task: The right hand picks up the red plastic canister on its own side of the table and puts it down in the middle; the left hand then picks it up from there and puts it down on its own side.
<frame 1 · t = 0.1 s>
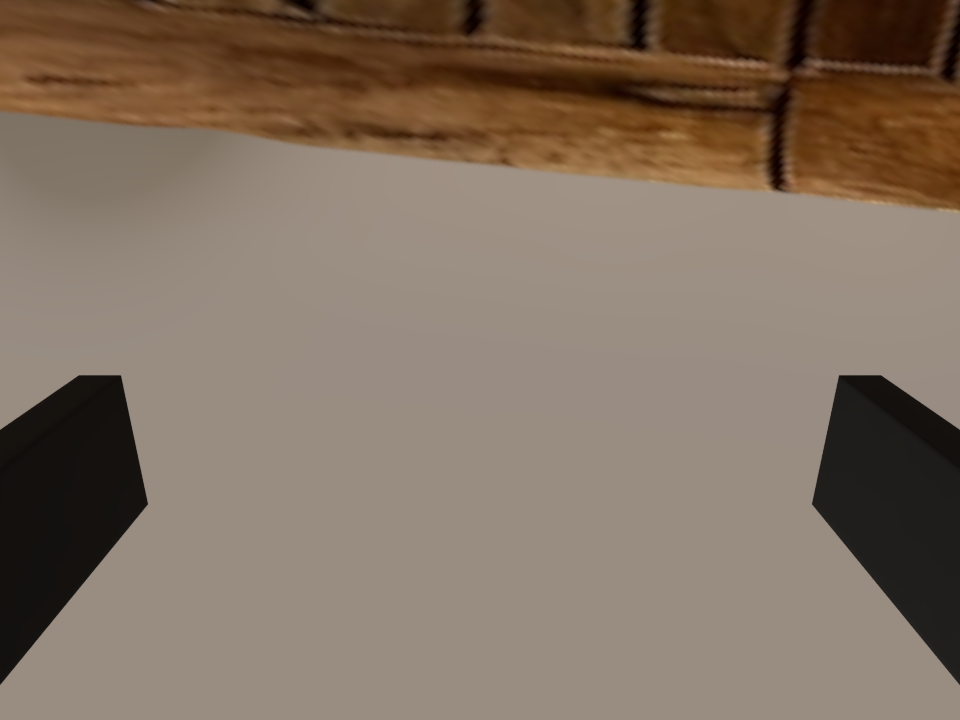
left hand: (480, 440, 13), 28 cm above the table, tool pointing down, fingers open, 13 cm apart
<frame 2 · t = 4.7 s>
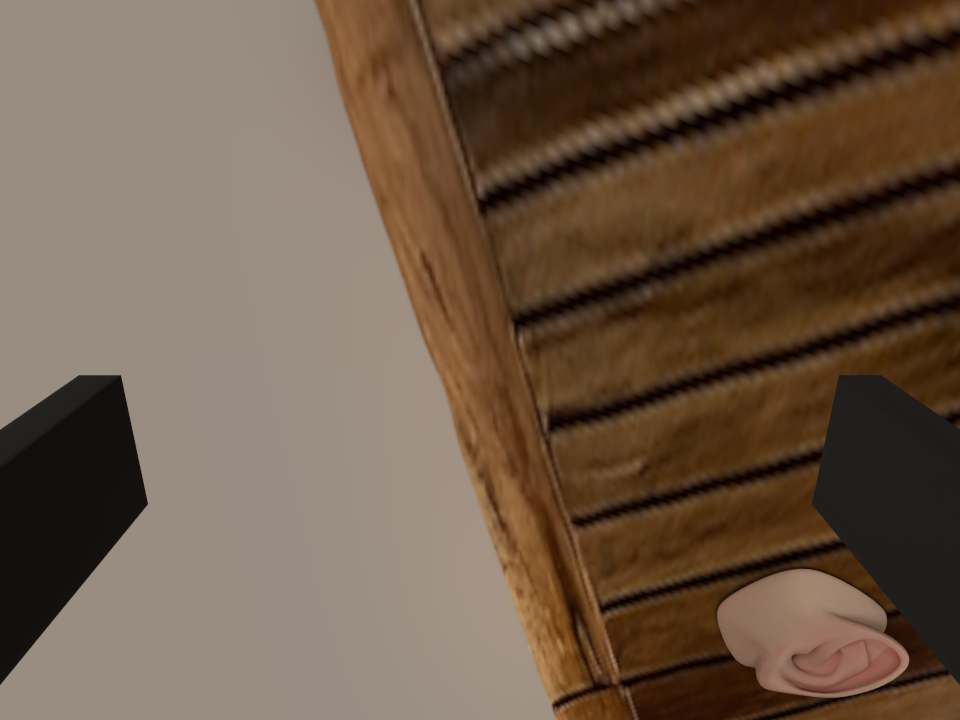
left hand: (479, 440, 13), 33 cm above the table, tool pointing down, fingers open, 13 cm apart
anatomical model: (796, 623, 56), on the table
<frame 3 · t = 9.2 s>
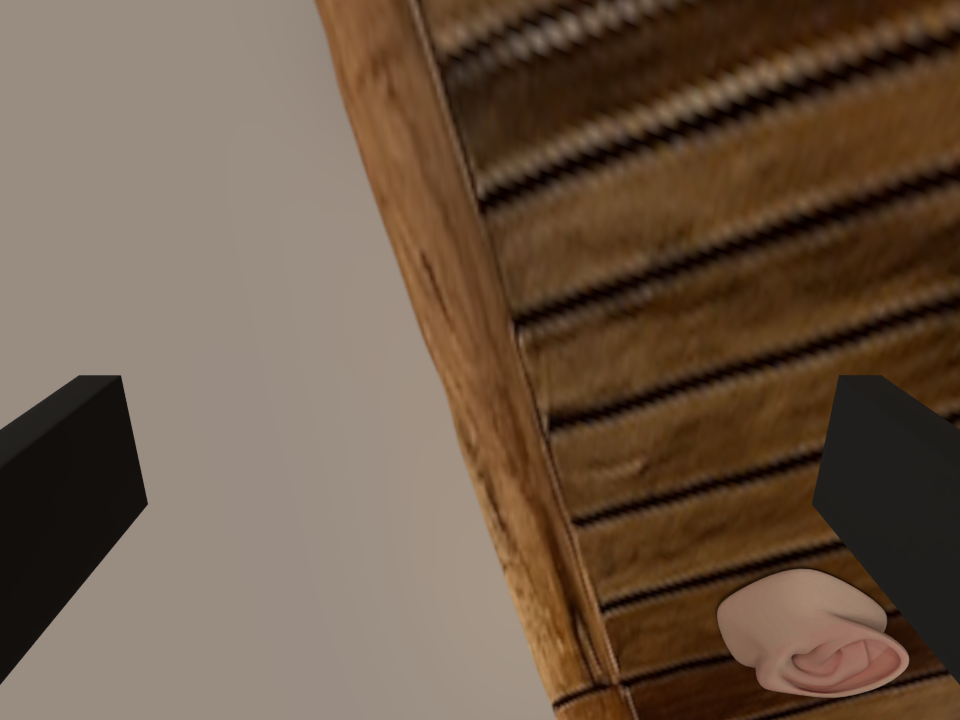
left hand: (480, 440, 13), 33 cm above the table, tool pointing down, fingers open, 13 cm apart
anatomical model: (796, 623, 56), on the table
when the right hand's fingers open (3 cm above the table, at t = 13.9 s): canister drops 2 cm, on the table.
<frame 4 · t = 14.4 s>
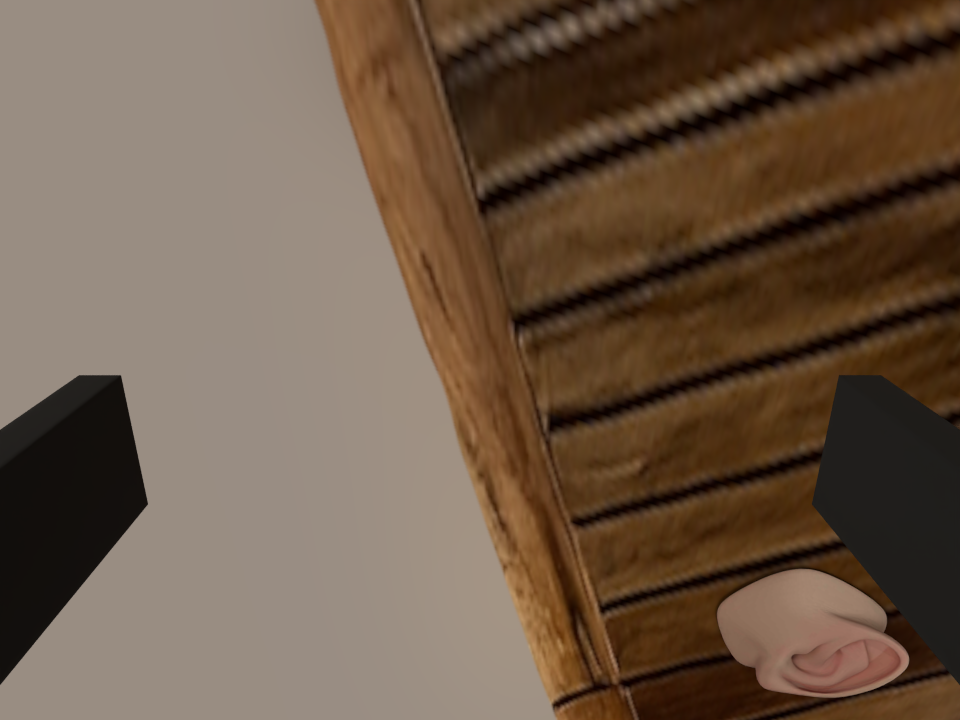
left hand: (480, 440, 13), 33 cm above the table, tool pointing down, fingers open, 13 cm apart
anatomical model: (796, 623, 56), on the table
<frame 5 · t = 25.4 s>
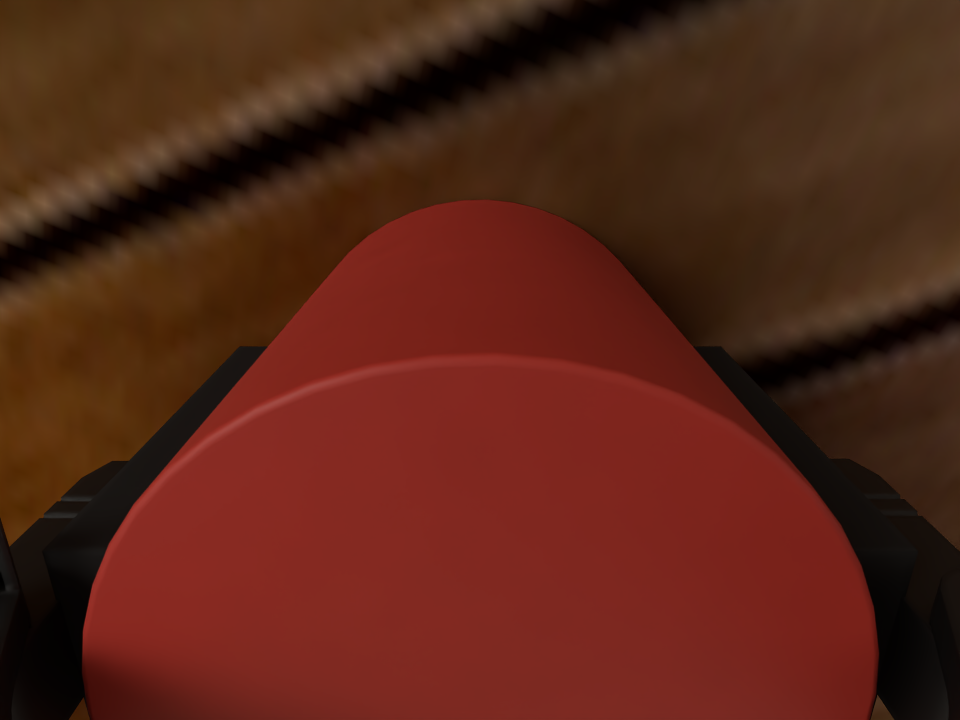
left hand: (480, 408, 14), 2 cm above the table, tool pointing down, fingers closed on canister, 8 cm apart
canister: (480, 379, 15), on the table, touching left hand
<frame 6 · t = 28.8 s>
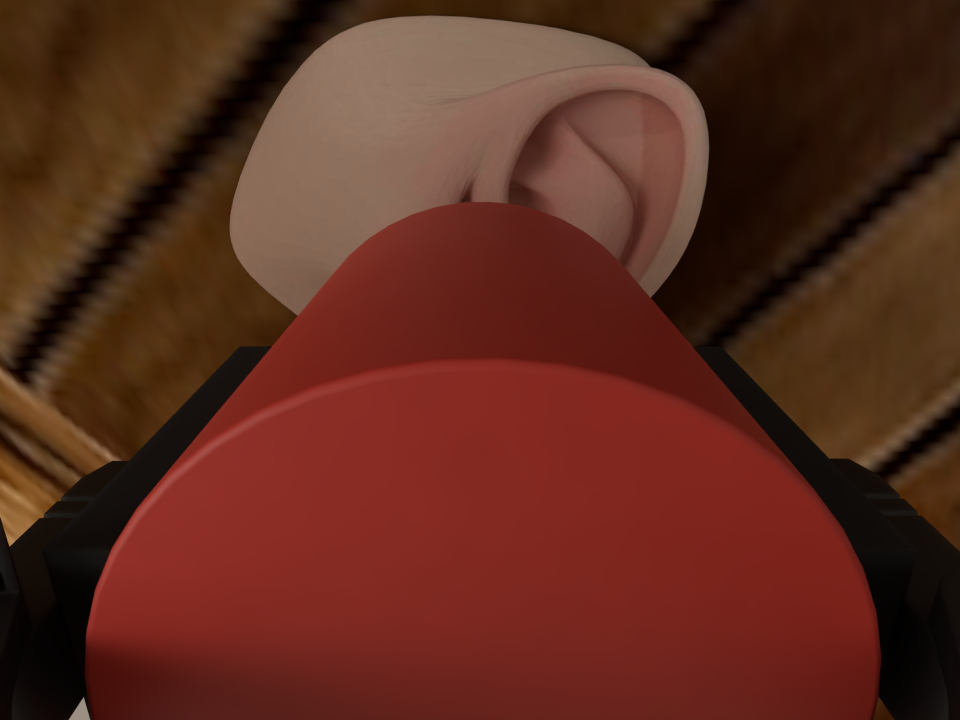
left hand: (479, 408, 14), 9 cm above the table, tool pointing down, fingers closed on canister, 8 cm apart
anatomical model: (451, 204, 21), on the table
canister: (481, 381, 15), point 8 cm above the table, touching left hand
when the left hand's fingers open (3 cm above the table, at t = 32.6 s): canister drops 2 cm, on the table.
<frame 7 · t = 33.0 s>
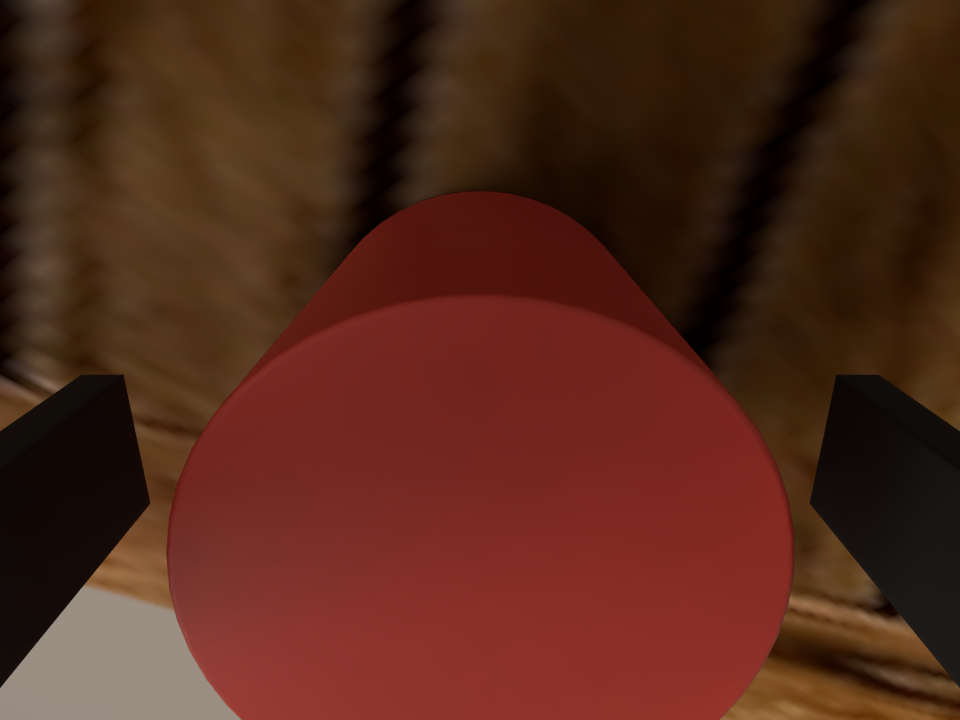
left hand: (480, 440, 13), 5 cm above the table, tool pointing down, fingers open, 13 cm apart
canister: (479, 353, 17), on the table
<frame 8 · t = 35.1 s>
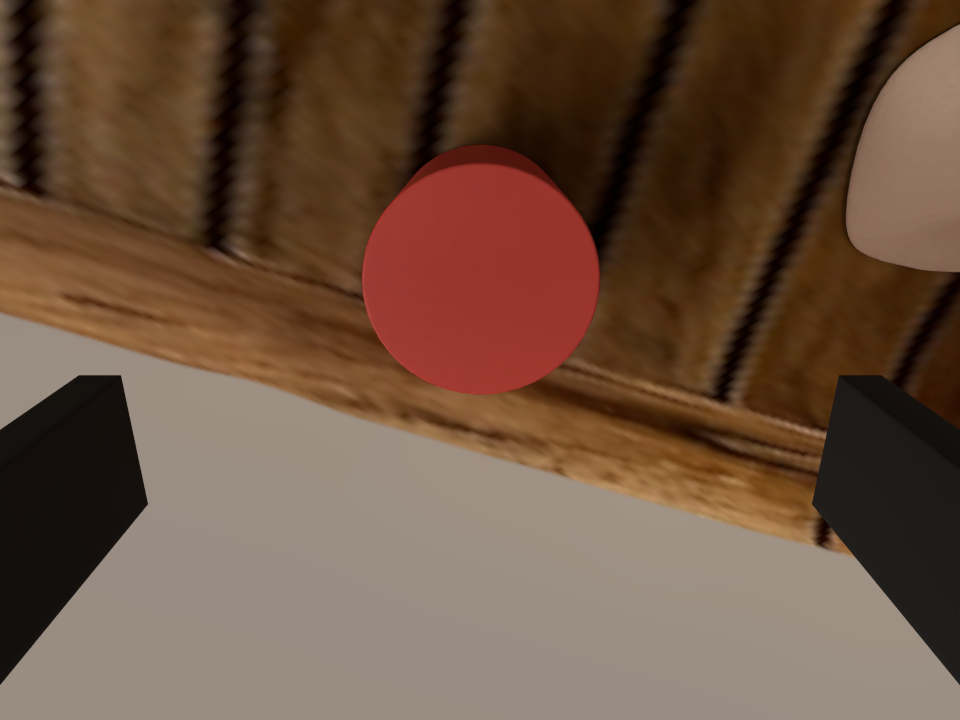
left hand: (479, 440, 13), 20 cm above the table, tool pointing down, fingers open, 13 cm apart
canister: (480, 235, 31), on the table
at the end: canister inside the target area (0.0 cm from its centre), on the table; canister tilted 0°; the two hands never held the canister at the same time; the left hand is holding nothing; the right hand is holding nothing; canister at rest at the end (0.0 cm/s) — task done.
